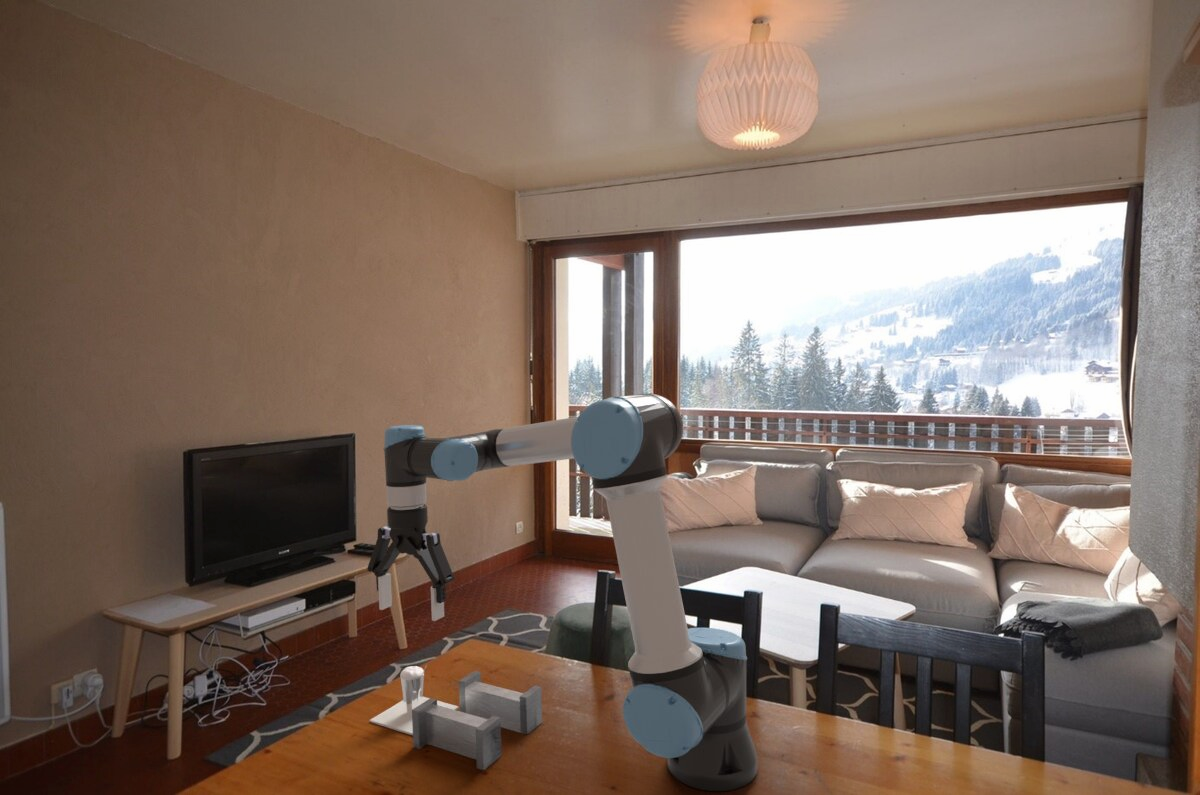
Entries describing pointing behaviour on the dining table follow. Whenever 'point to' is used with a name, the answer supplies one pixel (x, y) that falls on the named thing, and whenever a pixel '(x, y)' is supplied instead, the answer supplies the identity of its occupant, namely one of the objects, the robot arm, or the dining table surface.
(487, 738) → the brackets
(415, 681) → the milkshake
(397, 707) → the pad
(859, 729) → the dining table surface
